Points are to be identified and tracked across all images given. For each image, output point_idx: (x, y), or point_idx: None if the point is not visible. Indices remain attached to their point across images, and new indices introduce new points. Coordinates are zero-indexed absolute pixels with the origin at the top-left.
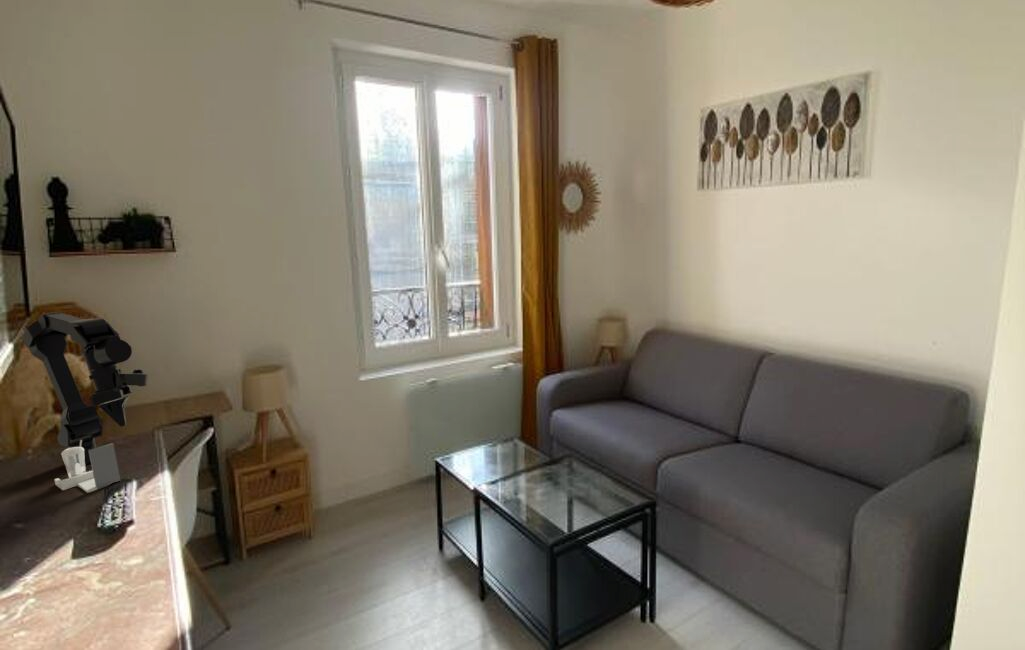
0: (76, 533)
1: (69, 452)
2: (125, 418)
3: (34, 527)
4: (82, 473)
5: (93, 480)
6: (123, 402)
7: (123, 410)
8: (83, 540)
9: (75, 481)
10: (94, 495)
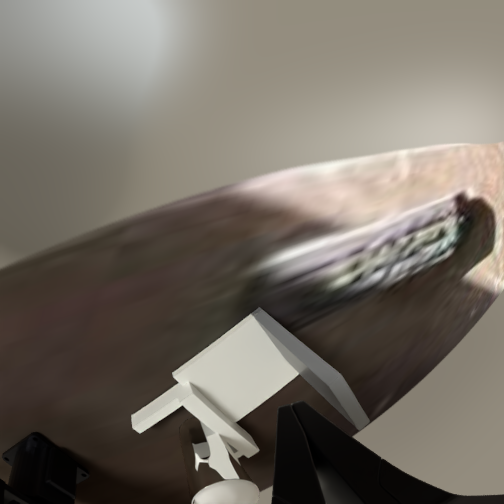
0: (454, 280)
1: (258, 499)
2: (282, 442)
3: (405, 371)
4: (215, 433)
5: (233, 390)
6: (487, 495)
7: (375, 481)
8: (471, 257)
9: (238, 428)
10: (323, 338)
